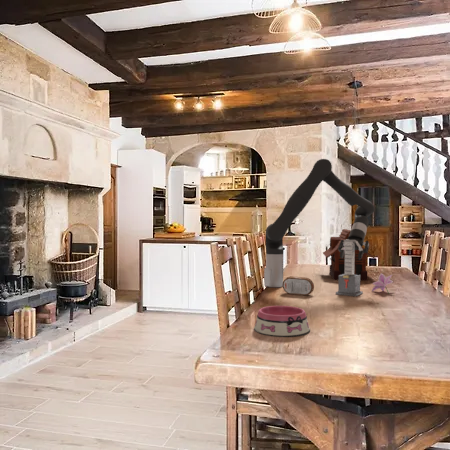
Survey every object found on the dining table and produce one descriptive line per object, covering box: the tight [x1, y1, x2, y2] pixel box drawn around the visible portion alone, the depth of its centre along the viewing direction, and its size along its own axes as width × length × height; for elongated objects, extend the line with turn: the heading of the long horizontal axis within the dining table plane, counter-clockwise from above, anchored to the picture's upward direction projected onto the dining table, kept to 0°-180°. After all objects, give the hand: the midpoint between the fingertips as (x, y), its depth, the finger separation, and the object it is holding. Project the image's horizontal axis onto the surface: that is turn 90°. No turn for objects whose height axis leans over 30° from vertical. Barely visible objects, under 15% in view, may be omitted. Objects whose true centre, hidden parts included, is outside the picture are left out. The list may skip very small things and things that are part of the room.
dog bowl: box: [253, 305, 311, 338], centre depth 153 cm, size 18×19×7 cm
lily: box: [371, 272, 394, 294], centre depth 226 cm, size 12×12×10 cm
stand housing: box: [335, 274, 364, 297], centre depth 221 cm, size 10×10×9 cm
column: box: [344, 239, 356, 276], centre depth 221 cm, size 4×4×25 cm
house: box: [322, 228, 376, 281], centre depth 281 cm, size 35×28×29 cm
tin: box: [282, 276, 315, 296], centre depth 219 cm, size 15×3×8 cm, turn 65°
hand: (350, 257), depth 222 cm, fingers open, 8 cm apart
